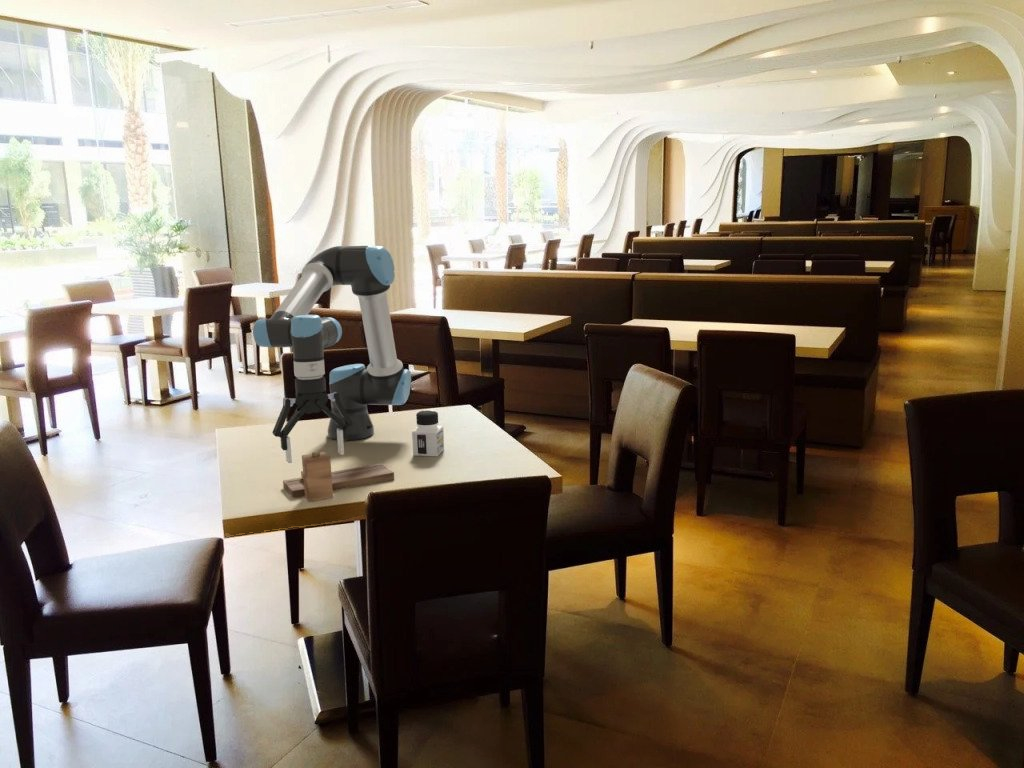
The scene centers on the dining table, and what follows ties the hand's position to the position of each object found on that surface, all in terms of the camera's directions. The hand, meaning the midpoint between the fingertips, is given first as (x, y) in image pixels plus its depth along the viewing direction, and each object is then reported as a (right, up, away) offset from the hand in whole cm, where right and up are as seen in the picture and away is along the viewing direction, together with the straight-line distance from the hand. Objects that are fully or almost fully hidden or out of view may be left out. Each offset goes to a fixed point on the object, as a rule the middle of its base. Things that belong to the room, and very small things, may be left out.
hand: (315, 457), depth 211 cm
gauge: (-2, -9, +6) cm, 12 cm away
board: (+3, -8, +13) cm, 16 cm away
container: (+25, -2, +40) cm, 47 cm away
